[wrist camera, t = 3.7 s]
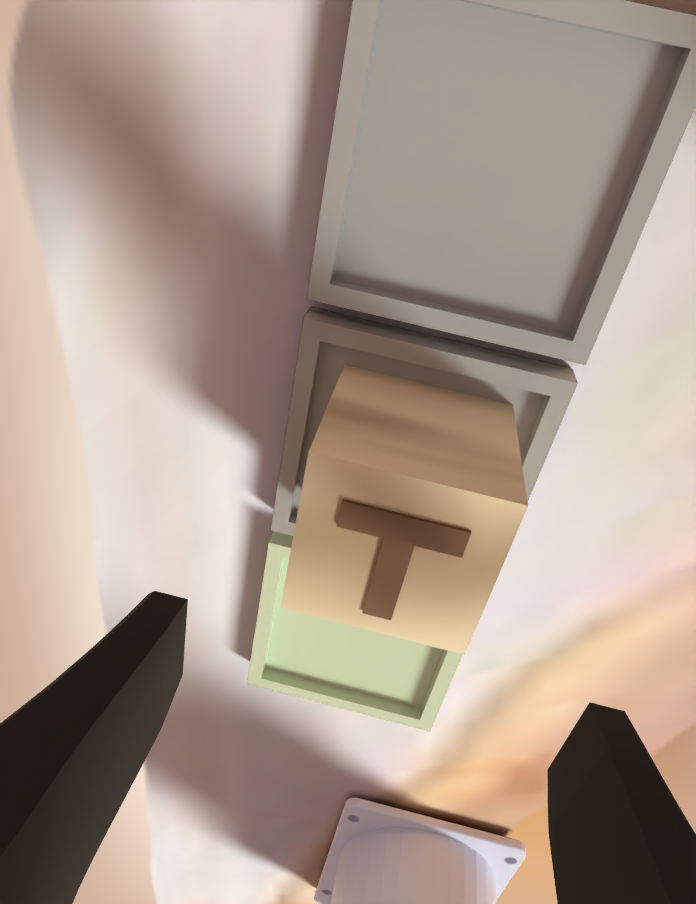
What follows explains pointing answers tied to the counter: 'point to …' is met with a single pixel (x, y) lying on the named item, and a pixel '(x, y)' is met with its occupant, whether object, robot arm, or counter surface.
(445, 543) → the letter block
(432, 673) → the green dish
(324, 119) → the counter surface
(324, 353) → the middle dish
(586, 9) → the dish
